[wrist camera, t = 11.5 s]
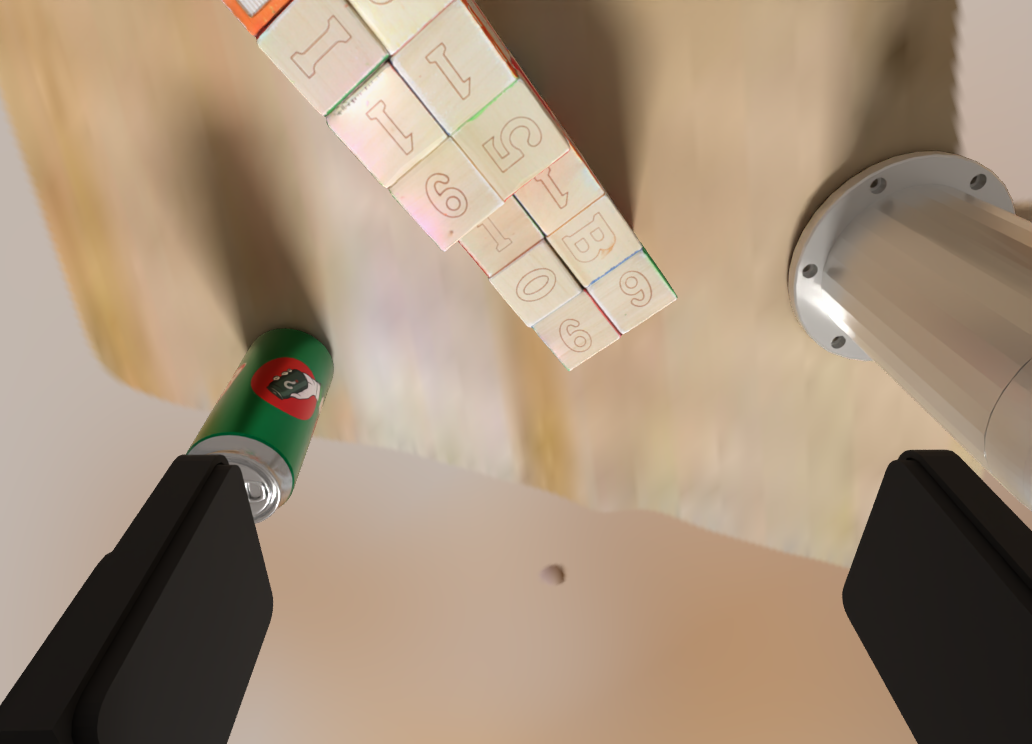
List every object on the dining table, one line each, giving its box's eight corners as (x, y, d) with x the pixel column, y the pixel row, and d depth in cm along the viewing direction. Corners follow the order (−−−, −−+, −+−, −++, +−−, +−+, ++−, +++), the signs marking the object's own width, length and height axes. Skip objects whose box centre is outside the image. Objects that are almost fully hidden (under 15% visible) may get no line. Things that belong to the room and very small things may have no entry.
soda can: (243, 323, 39) (162, 446, 29) (331, 324, 40) (281, 447, 29) (257, 395, 42) (186, 532, 32) (339, 395, 42) (295, 532, 32)
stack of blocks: (637, 233, 38) (700, 332, 27) (547, 295, 40) (574, 412, 29) (377, -149, 29) (320, -221, 18) (275, -45, 30) (167, -56, 20)
